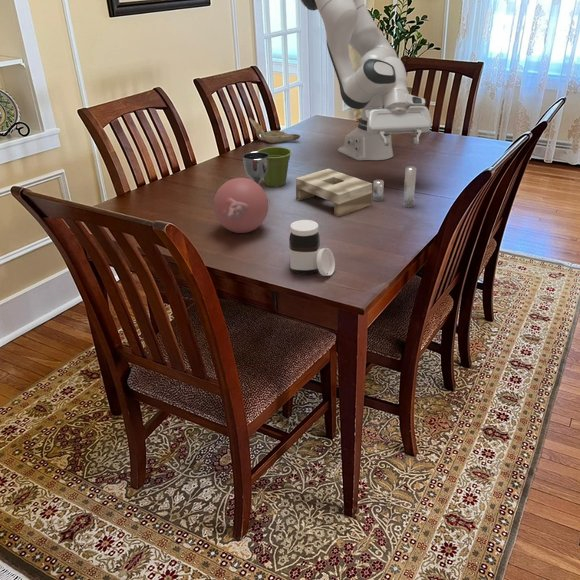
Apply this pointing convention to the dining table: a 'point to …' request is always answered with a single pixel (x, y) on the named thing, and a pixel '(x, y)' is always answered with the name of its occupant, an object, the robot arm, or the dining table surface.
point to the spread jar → (309, 249)
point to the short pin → (378, 190)
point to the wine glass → (256, 165)
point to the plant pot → (276, 165)
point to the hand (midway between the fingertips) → (401, 144)
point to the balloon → (240, 205)
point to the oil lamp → (273, 134)
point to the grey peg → (409, 186)
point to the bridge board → (336, 190)
